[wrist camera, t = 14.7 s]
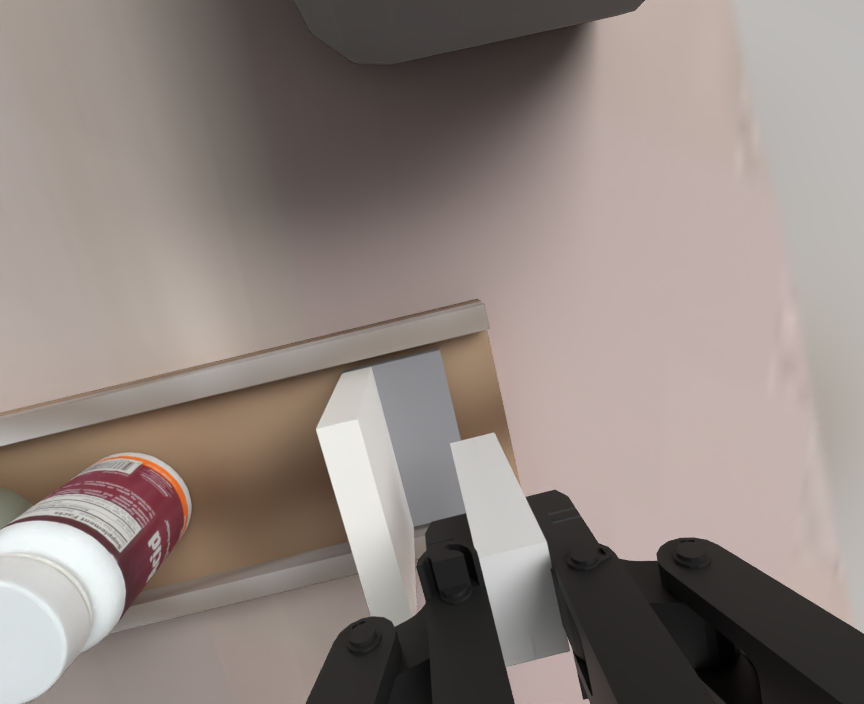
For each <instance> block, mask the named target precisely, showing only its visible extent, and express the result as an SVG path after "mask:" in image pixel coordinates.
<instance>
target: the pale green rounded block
mask: <svg viewBox="0 0 864 704" xmlns="http://www.w3.org/2000/svg"><path fill="white" fill-rule="evenodd" d="M31 507H33V505H32V504H31V503H30V502H29V501H28V500H26V499H25V498H23V497H22V496H20V495H19V494H17V493H15V492H13V491H10V490H8V489H5V488H2V487H0V529H1V528H2V527H4V526H6V525H7V524H8V523H10V522H11V521H13V520H14V519H16V518H17V517H19V516H20V515H21V514H23V513H24V512H25V511H27V510H28V509H30V508H31Z"/></svg>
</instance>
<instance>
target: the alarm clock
mask: <svg viewBox="0 0 864 704" xmlns="http://www.w3.org/2000/svg"><path fill="white" fill-rule="evenodd" d="M644 1H645V0H294V2H295V3H296V5H297V7H298V9H299V11H300V13H301V15H302V17H303V19H304V21H305V23H306V25H307V27H308V29H309V31H310V33H311V34H312V35H314V36H315V37H317V38H318V39H320V40H321V41H322V42H324V43H325V44H327V45H328V46H330V47H331V48H332V49H334V50H335V51H337V52H338V53H339V54H341V55H342V56H344V57H345V58H347V59H348V60H350V61H352V62H353V63H355V64H382V65H392V64H397V63H401V62H406V61H410V60H415V59H420V58H424V57H429V56H433V55H438V54H443V53H447V52H452V51H457V50H461V49H466V48H470V47H475V46H480V45H484V44H489V43H494V42H498V41H503V40H507V39H512V38H517V37H521V36H526V35H530V34H535V33H540V32H544V31H549V30H554V29H558V28H563V27H567V26H572V25H577V24H581V23H586V22H591V21H595V20H600V19H604V18H609V17H614V16H618V15H621V14H625V13H628V12H632V11H635V10H636V9H637V8H638V7H639V6H640V5H641V4H642V3H643V2H644Z"/></svg>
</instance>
